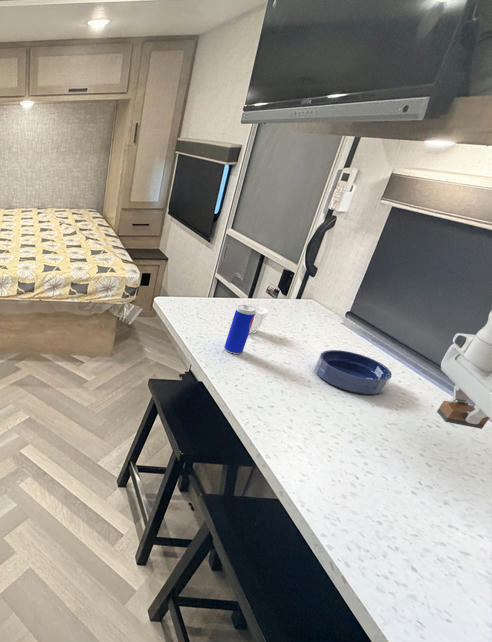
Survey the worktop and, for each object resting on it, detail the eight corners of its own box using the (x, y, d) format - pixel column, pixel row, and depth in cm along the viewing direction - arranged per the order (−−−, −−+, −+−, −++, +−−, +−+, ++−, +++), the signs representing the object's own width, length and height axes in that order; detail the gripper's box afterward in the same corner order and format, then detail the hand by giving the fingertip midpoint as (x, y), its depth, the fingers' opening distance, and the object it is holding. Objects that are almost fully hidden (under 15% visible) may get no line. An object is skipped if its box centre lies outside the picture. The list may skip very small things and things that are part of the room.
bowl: (371, 371, 115) (379, 356, 112) (392, 401, 103) (402, 386, 100) (308, 360, 120) (314, 346, 118) (321, 387, 108) (328, 372, 106)
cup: (261, 329, 138) (269, 308, 134) (258, 340, 131) (266, 319, 127) (239, 323, 142) (245, 303, 138) (234, 334, 135) (241, 313, 131)
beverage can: (243, 356, 123) (258, 312, 116) (225, 353, 124) (238, 310, 117) (240, 347, 127) (254, 305, 120) (222, 345, 129) (235, 303, 122)
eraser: (471, 418, 82) (479, 406, 81) (481, 428, 79) (490, 417, 78) (436, 411, 84) (443, 400, 83) (445, 421, 81) (452, 410, 80)
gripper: (569, 391, 65) (518, 453, 71) (492, 335, 81) (456, 389, 88) (515, 383, 67) (471, 443, 74) (451, 330, 84) (419, 383, 90)
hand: (462, 413), depth 81 cm, fingers closed on eraser, 3 cm apart
